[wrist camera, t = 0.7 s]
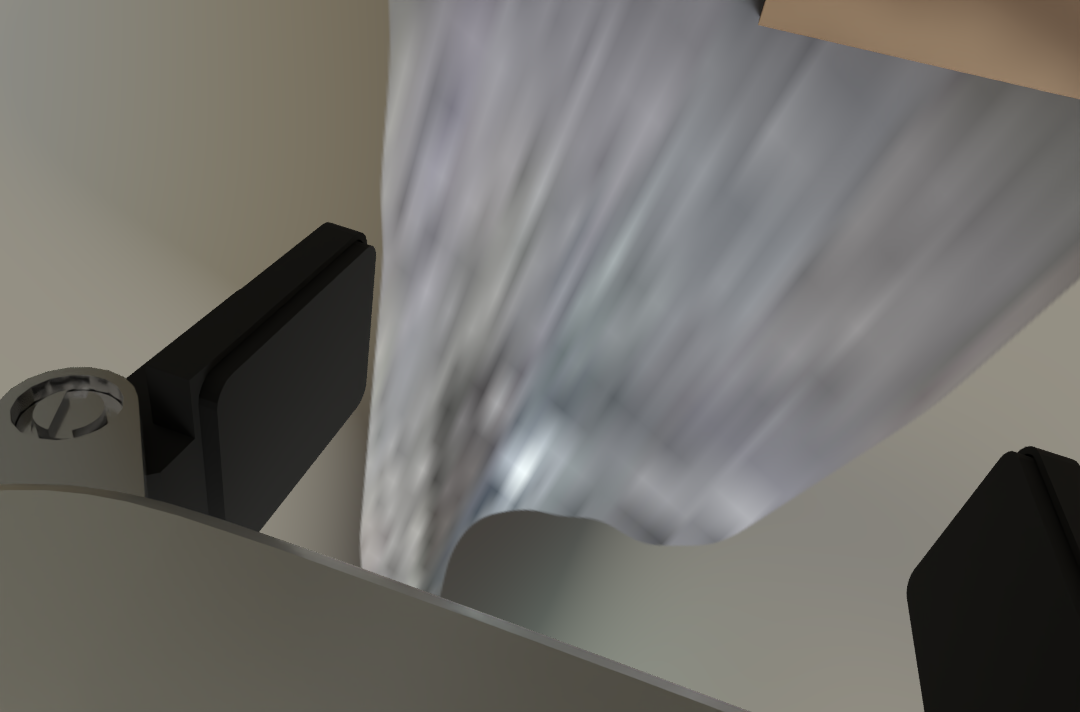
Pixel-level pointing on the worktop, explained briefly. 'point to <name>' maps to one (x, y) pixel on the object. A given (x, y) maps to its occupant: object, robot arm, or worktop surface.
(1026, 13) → the walnut cutting board
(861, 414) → the worktop surface
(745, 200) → the worktop surface
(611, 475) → the worktop surface
